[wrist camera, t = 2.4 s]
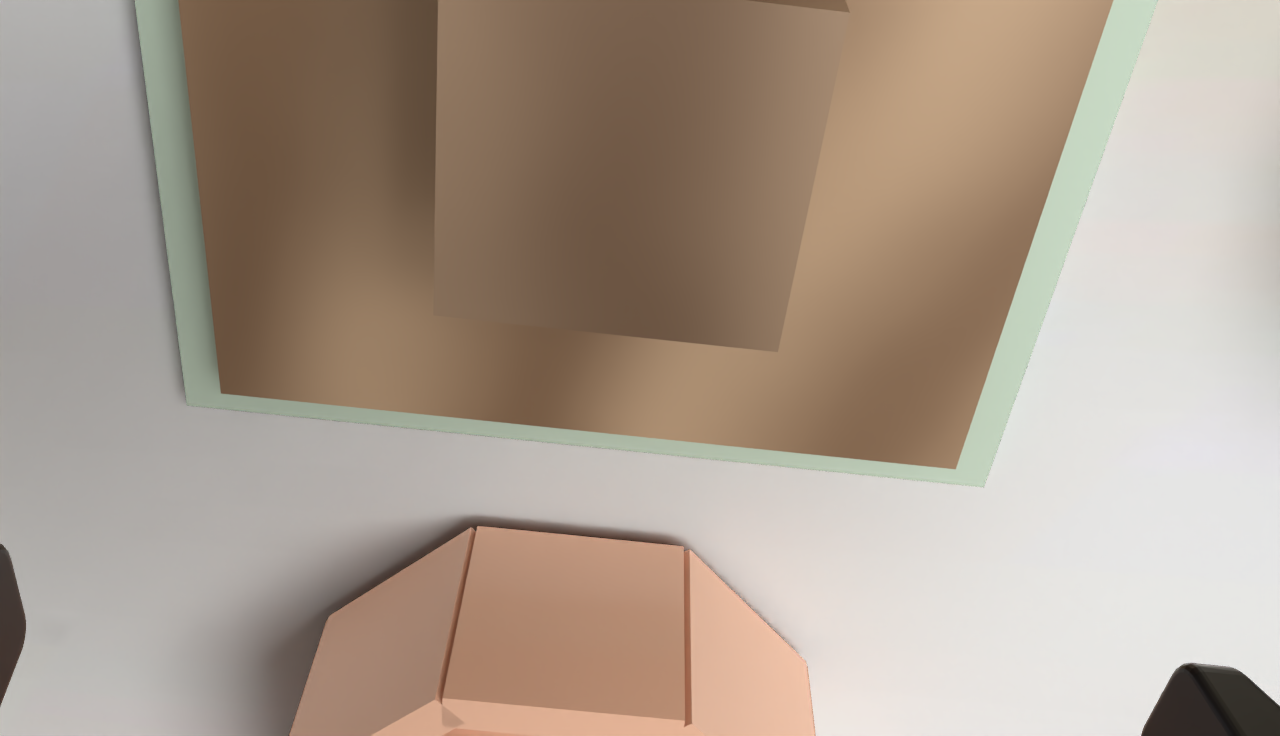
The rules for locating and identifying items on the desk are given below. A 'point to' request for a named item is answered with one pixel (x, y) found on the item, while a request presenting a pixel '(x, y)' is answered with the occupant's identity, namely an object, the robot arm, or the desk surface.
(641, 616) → the bowl
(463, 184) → the lid
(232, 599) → the desk surface
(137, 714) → the desk surface
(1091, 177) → the mat
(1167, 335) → the desk surface
